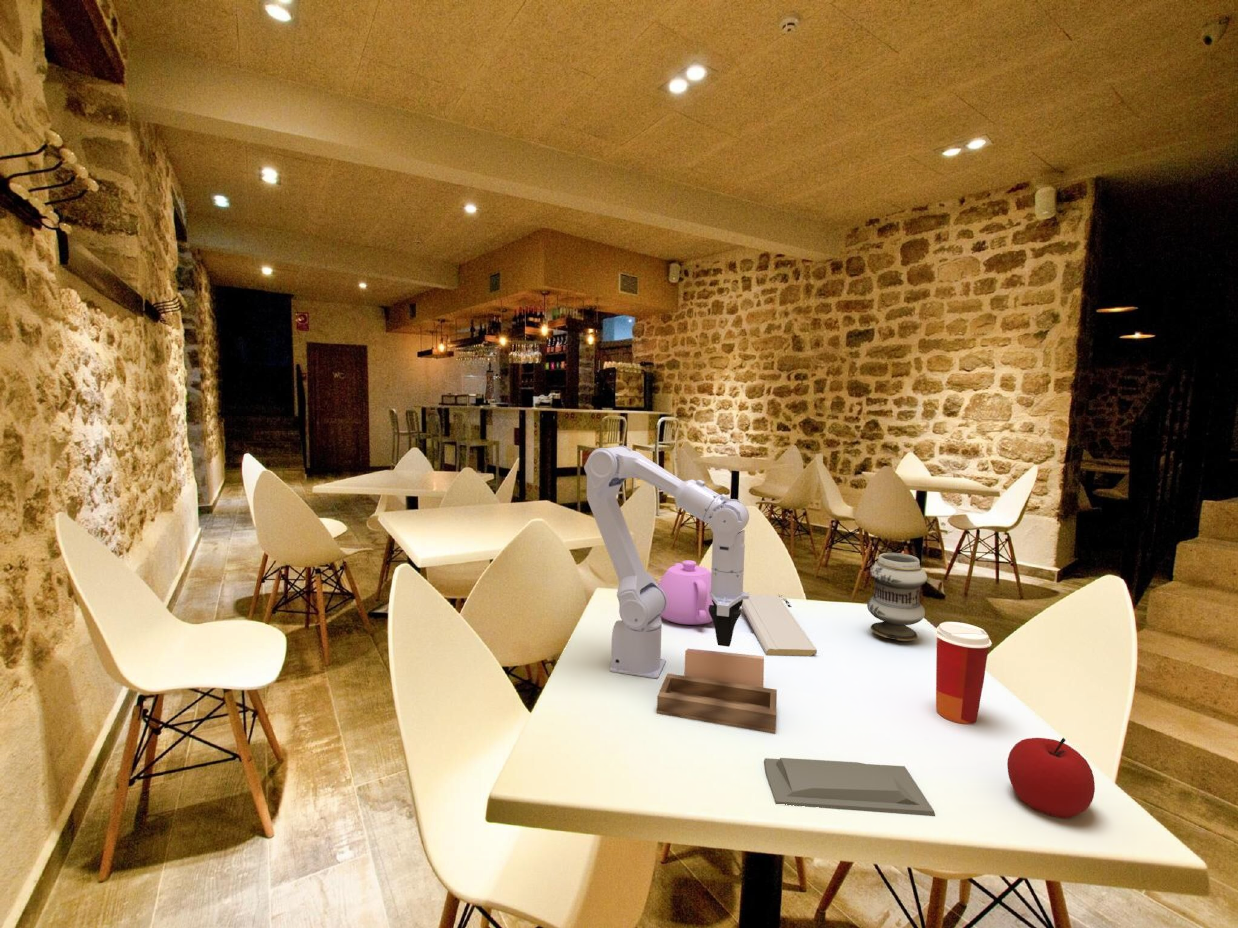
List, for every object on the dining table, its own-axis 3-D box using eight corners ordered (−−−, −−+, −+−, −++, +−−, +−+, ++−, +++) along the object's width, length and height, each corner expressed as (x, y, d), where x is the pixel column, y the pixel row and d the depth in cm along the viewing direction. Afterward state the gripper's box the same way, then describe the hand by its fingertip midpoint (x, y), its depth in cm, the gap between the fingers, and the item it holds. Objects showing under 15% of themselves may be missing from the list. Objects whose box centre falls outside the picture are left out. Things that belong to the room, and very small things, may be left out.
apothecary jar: (866, 637, 130) (871, 559, 128) (865, 619, 141) (870, 548, 139) (925, 646, 125) (932, 566, 123) (920, 627, 136) (925, 553, 134)
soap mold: (938, 830, 71) (940, 804, 71) (775, 819, 72) (776, 793, 72) (902, 776, 81) (904, 753, 81) (760, 768, 83) (761, 745, 82)
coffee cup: (977, 707, 100) (984, 624, 98) (990, 732, 92) (999, 642, 90) (923, 698, 102) (930, 617, 101) (932, 721, 95) (939, 634, 93)
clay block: (684, 679, 104) (685, 650, 105) (686, 675, 107) (687, 648, 108) (763, 688, 100) (763, 658, 101) (763, 684, 104) (764, 656, 105)
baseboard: (824, 649, 119) (766, 648, 119) (823, 662, 119) (765, 661, 119) (783, 594, 149) (737, 593, 150) (782, 605, 150) (737, 603, 150)
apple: (1046, 781, 80) (1053, 713, 79) (1111, 828, 71) (1120, 752, 70) (988, 787, 78) (994, 718, 77) (1047, 835, 70) (1055, 758, 69)
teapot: (757, 629, 133) (759, 571, 132) (668, 636, 128) (670, 576, 127) (719, 598, 154) (721, 548, 153) (642, 603, 149) (643, 551, 148)
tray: (656, 716, 95) (657, 696, 94) (667, 691, 103) (667, 672, 103) (775, 736, 89) (776, 715, 89) (775, 708, 98) (776, 688, 98)
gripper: (748, 582, 95) (745, 660, 96) (751, 559, 109) (748, 628, 110) (705, 577, 96) (703, 655, 98) (714, 556, 110) (712, 624, 112)
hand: (724, 640), depth 104 cm, fingers open, 3 cm apart
